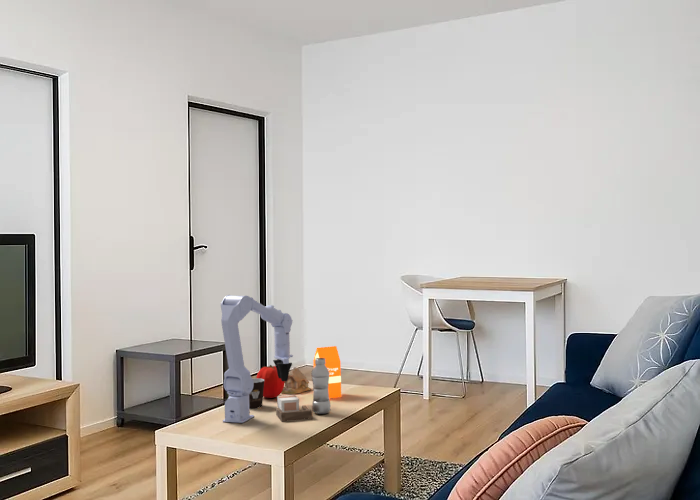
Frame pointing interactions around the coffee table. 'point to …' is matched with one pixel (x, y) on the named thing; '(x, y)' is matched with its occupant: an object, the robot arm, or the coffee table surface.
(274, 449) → the coffee table surface
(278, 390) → the red bell pepper
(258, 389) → the coffee mug
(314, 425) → the coffee table surface
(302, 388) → the ceramic model
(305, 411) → the display stand
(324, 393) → the plastic bottle
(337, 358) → the orange juice
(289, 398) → the carton
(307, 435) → the coffee table surface
